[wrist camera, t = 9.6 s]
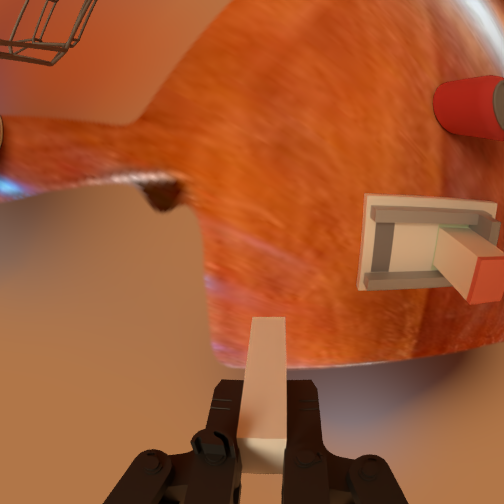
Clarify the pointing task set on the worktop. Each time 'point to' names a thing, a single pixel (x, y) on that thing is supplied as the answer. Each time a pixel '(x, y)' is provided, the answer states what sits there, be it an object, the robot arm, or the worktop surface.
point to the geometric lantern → (41, 44)
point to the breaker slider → (470, 264)
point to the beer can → (472, 107)
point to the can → (1, 131)
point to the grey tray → (414, 237)
